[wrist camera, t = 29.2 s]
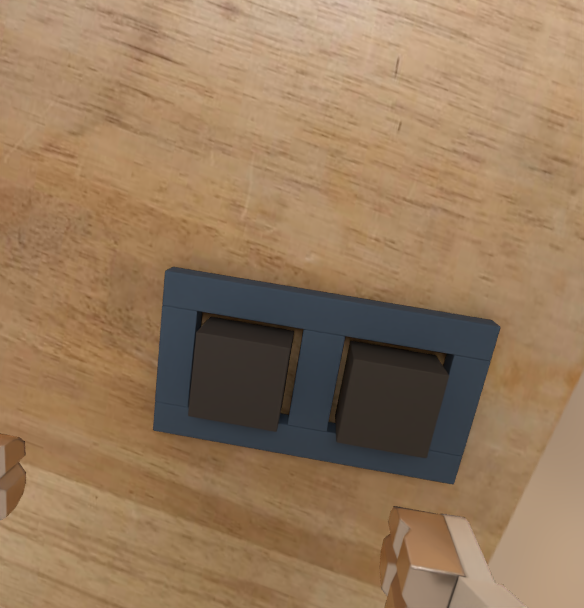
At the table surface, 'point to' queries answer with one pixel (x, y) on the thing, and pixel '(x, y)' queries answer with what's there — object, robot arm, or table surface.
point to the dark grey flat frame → (320, 367)
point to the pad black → (390, 399)
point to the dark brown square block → (239, 373)
